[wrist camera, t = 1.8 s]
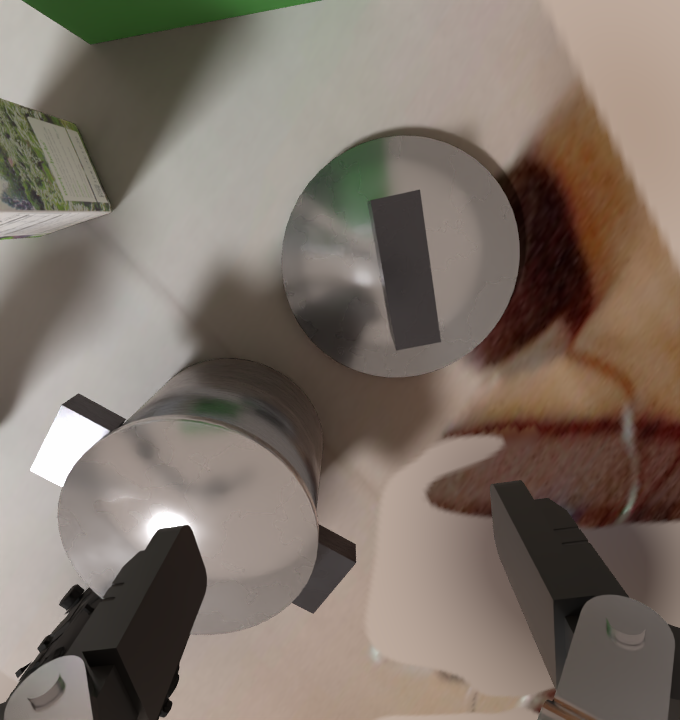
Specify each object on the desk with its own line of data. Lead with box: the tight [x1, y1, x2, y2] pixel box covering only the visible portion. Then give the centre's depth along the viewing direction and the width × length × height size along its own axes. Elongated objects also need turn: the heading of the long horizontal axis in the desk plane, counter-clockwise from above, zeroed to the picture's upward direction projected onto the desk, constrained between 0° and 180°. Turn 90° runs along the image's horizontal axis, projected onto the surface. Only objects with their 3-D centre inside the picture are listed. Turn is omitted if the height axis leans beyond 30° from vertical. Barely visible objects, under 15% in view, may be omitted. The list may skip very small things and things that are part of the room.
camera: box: [6, 584, 190, 720], centre depth 31 cm, size 10×14×20 cm
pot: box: [30, 358, 356, 635], centre depth 30 cm, size 19×15×11 cm
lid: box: [282, 136, 520, 377], centre depth 28 cm, size 16×16×5 cm
